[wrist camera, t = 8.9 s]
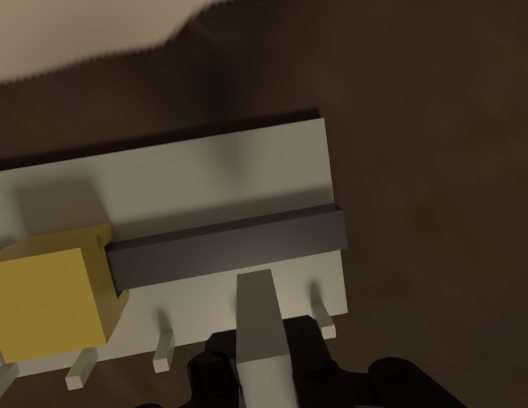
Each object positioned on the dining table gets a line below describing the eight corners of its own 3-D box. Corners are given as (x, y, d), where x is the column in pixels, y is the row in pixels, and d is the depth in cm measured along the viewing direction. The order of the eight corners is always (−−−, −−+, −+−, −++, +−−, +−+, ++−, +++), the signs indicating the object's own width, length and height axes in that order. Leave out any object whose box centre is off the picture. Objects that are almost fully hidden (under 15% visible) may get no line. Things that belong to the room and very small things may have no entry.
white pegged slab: (320, 118, 25) (340, 118, 21) (343, 305, 28) (365, 341, 23) (-76, 183, 24) (-146, 198, 19) (-8, 373, 27) (-55, 425, 22)
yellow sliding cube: (109, 221, 24) (80, 247, 19) (129, 300, 25) (106, 344, 20) (24, 236, 24) (-29, 267, 19) (48, 315, 25) (5, 363, 20)
